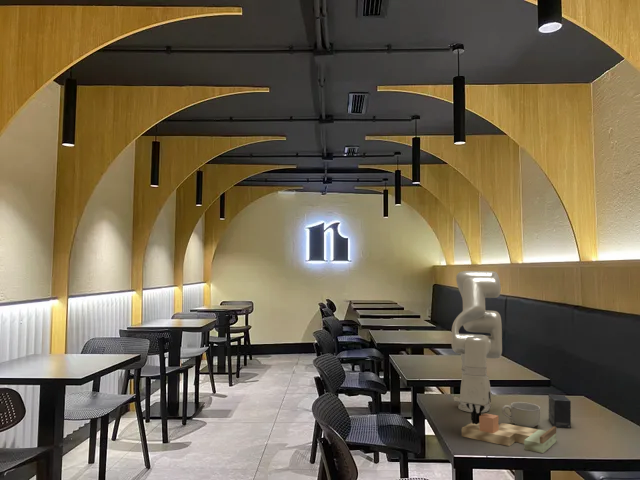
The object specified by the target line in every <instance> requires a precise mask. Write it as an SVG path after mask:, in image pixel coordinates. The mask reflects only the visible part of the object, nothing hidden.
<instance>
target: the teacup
mask: <svg viewBox="0 0 640 480" xmlns="http://www.w3.org/2000/svg"><path fill="white" fill-rule="evenodd" d="M506 409H508V410H509V412H510V415H509V414H508V413H506V411H505V410H506ZM501 412H502V414H503V415H504V416H505V417H506V418H508V419H509V421H511V422H513V423H514V425H516V426H522V427H528V428H533V429H535V427H536V426H538V425H539V424H540V419H541V406H539V405H538V404H535V403H533V402H532V403H531V402H524V401H514V402H511V403H510V404H509V405H508V404H505V405H503V406H502V407H501Z"/></svg>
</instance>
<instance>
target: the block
mask: <svg viewBox="0 0 640 480" xmlns="http://www.w3.org/2000/svg"><path fill="white" fill-rule="evenodd" d="M499 419H500V418H499V415H496V414H490V413H487V412H483V414H482V413H481V415H480V416H479V430H480V431H485V432H490V433H495V432H496V431H498V430H499V425H500V424H499Z"/></svg>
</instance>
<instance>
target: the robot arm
mask: <svg viewBox="0 0 640 480" xmlns="http://www.w3.org/2000/svg"><path fill="white" fill-rule="evenodd" d="M455 278H456V279H455V281H456V285H457V288H458V291H459V293H460V295H461V299H462V311H461V312H460V313H459V314H458V315H457V316H456V318H455V319H454V321H453V323H452V326H451V342H450V344H451V349H452V351H453V352H454V353H455V354H459V355H460V356H461V382H460V391H459V392H460V393H459V394H460V395H459V397H458V396H454V397H453V402H454V403H458V406H457V407H458V409H459V410H460V411H463V412H468V413H470V414H471V415H470V420H471V423H472V424H479V416H480V415H482V413H483V414H484V413H487V412H489V410H490V409H492V405H491V402H492V390H491V384H490V378H489V376H488V375H487V359H499V358H500V357H502V353H503V339H502V338H503V330H502V328H503V325H502V317H501V314H500V313H499V312H498V311H497V310H489V309H488V310H486V298H488V299H491V298H493V299H495V298H496V299H497V298H498V297H500V295H501V291H502V286H501V285H502V284H501V281H500V276H499V274H498V273H497V271H493V270H491V271H489V270H464V271H459V272H457V274H456V277H455ZM462 327H463V329H464V331H466V332H470V333H460V332H459V331H460V329H461V328H462ZM474 333H487V334H490V335H484V334H474Z"/></svg>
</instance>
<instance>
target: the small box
mask: <svg viewBox="0 0 640 480" xmlns="http://www.w3.org/2000/svg"><path fill="white" fill-rule="evenodd" d="M571 404H572V402H571V400H570V399H569V398H568V397H567V396H565V394H563V395H561V394H551V393H549V394H548V422H549V423H550V424H551V425H552V427H553V426H554V427H556V428H562V429H563V428H565V429H571V428H572V425H571V424H572V422H571V421H572V419H571V417H572V414H571V411H572V410H571V408H572V405H571Z"/></svg>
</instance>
